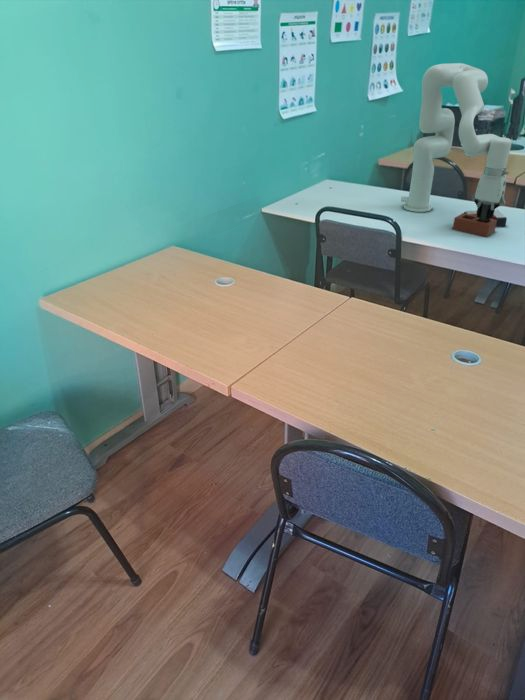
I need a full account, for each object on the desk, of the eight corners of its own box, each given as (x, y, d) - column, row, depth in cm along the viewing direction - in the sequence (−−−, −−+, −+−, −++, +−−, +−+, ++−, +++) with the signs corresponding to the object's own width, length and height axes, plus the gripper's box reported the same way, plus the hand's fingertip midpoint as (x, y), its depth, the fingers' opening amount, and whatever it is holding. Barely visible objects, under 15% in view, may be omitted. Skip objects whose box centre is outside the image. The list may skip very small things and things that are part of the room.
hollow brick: (452, 229, 217) (454, 217, 215) (460, 224, 222) (463, 213, 220) (486, 237, 209) (489, 225, 206) (494, 231, 214) (497, 220, 211)
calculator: (464, 210, 228) (499, 208, 226) (462, 219, 230) (497, 218, 228) (470, 217, 218) (507, 216, 217) (469, 227, 220) (505, 226, 219)
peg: (474, 232, 214) (481, 203, 207) (478, 230, 216) (484, 201, 210) (483, 234, 212) (489, 205, 205) (486, 232, 214) (493, 203, 208)
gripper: (519, 173, 199) (507, 219, 208) (477, 166, 208) (468, 211, 218) (512, 177, 194) (500, 224, 204) (469, 170, 203) (460, 215, 213)
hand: (484, 217), depth 211 cm, fingers closed on peg, 3 cm apart
